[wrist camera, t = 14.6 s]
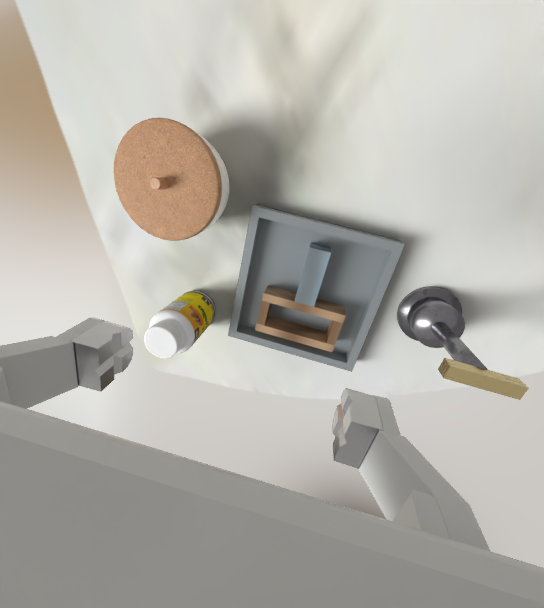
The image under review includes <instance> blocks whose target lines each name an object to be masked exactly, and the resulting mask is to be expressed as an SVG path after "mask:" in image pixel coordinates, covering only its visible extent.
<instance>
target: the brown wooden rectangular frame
mask: <svg viewBox="0 0 544 608" xmlns="http://www.w3.org/2000/svg"><path fill="white" fill-rule="evenodd" d="M330 255H331V248H329V247H325V246H322V245H318V244H314V243H311V244H310V247H309V251H308V254H307V258H306V261H305V265H304V269H303V272H302V276H301V279H300V283H299V286H298V290H297V293H295V292H291V291H287V290H284V289H280V288H276V287H273V286H269V285H268V286H267V288H266V290H265V291H264V293H263V297H262V302H261V306H260V311H259V315H258V319H257V324H256V328H255V330H256V331H260V332H263V333H266V334H270V335H273V336H277V337H280V338H284V339H287V340H291V341H294V342H298V343H301V344H305V345H308V346H312V347H315V348H319V349H322V350H326V351H329V352H332V351H333V349H334V346H335V343H336V340H337V338H338V335H339V332H340V330H341V327H342V324H343V322H344V319H345V316H346V315H345V309H344V306H342V305H338V304H335V303H331V302H327V301H324V300H320V299H317V296H318V293H319V290H320V287H321V283H322V280H323V277H324V274H325V271H326V267H327V264H328V261H329V258H330ZM272 303H273V304H276V305H280V306H283V307H287V308H290V309H294V310H298V311H301V312H305V313H308V314H312V315H316V316H319V317H323V318H326V319H330V320H331V321H330V323H329V326H328V329H327V332H324V331H321V330H317V329H314V328H310V327H306V326H303V325H299V324H296V323H292V322H289V321H285V320H282V319H278V318H275V317H271V316H269V312H270V308H271V304H272Z"/></svg>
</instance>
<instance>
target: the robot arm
mask: <svg viewBox="0 0 544 608" xmlns="http://www.w3.org/2000/svg"><path fill="white" fill-rule="evenodd" d="M132 339H133V331H132V330H131V329H130V328H128V327H124V326H121V325H117V324H114V323H111V322H108V321H104V320H100V319H97V318H89V319H87V320H85V321H83V322H81V323H80V324H78V325H76V326H74V327H73V328H71V329H69V330H67V331H66V332H64V333H62V334H60V335H58V336H57V337H52V336H50V337H44V338H39V339H34V340H29V341H23V342H19V343H13V344H8V345H2V346H0V608H544V568H542V567H539V566H535V565H532V564H529V563H525V562H523V561H519V560H516V559H513V558H510V557H506V556H503V555H500V554H496V553H493V552H491V551H490V550H489V547H488V545H487V543H486V540H485V538H484V536H483V534H482V531H481V529H480V527H479V525H478V523H477V520H476V518H475V516H474V514H473V512H472V509H471V507H470V505H469V504H468V503H467V502H466V501H465V500H464V499H463V498H462V497H461V496H460V495H459V494H458V493H457V492H456V490H455V489H454V488H453V487H452V486H451V485H450V484H449V483H448V482H447V481H446V480H445V479H444V478H443V477H442V476H441V475H440V473H438V471H437V470H436V469H435V468H434V467H433V466H432V465H431V464H430V463H429V462H428V461H427V460H426V459H425V458H424V457H423V456H422V454H421V453H420V452H419V451H418V450H417V449H416V448H415V447H414V446H413V445H412V444H411V443H410V442H409V441H408V440H407V439H406V438H405V437H403V436H401V435H400V432H399V429H398V426H397V423H396V419H395V416H394V413H393V410H392V407H391V403H390V401H389V400H388V399H387V398H383V397H379V396H374V395H373V396H372V395H369V394H365V393H361V392H358V391H354V390H350V389H347V388H345V390H344V391H343V393H342V396H341V402H342V404H340V405H338V406H337V408H336V411H335V414H334V418H333V434H334V435H335V440H334V442H333V454H334V461H337V462H340V463H343V464H346V465H349V466H352V467H355V468H358V469H359V471H360V473H361V475H362V477H363V479H364V480H365V482H366V484H367V485H368V487H369V489H370V491H371V493H372V494H373V496H374V498H375V499H376V501H377V503H378V505H379V507H380V508H381V510H382V512H383V514H384V515H385V517H386V519H387V520H386V519H383V518H380V517H376V516H373V515H370V514H366V513H363V512H360V511H357V510H353V509H350V508H347V507H344V506H341V505H337V504H334V503H331V502H327V501H324V500H321V499H318V498H314V497H311V496H308V495H305V494H301V493H298V492H295V491H291V490H288V489H285V488H282V487H279V486H275V485H272V484H269V483H266V482H262V481H259V480H256V479H253V478H250V477H246V476H243V475H240V474H237V473H233V472H230V471H227V470H224V469H220V468H217V467H214V466H210V465H208V464H204V463H201V462H198V461H194V460H191V459H188V458H185V457H181V456H178V455H175V454H172V453H168V452H165V451H162V450H159V449H155V448H152V447H149V446H146V445H142V444H139V443H136V442H132V441H129V440H126V439H123V438H120V437H116V436H113V435H109V434H107V433H103V432H100V431H96V430H93V429H90V428H87V427H84V426H81V425H77V424H74V423H71V422H68V421H64V420H61V419H58V418H54V417H51V416H48V415H44V414H42V413H38V412H35V411H32V410H28V409H27V408H29V407H32V406H34V405H36V404H39V403H41V402H43V401H46V400H48V399H50V398H53V397H55V396H57V395H60V394H62V393H65V392H67V391H69V390H72V389H74V388H76V387H78V386H82V387H86V388H90V389H94V390H97V391H102V390H103V389H104V388H105V387H107V386H108V385H109V384H110V383H111V382H112V381H113V380H114V374H117V373H120V372H123V371H124V370H125V369H126V368H127V367H128V365H129V363H130V361H131V360H132V356H133V347H132V346H131V344H130V343H129V342H130V341H131V340H132Z"/></svg>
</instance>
